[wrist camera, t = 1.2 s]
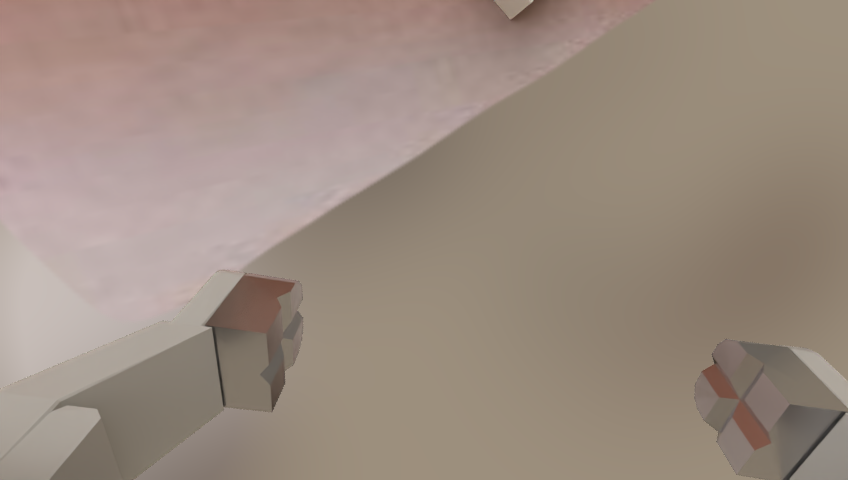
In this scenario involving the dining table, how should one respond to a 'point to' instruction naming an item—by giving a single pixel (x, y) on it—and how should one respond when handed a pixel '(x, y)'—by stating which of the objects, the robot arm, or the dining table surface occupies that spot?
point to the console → (512, 6)
